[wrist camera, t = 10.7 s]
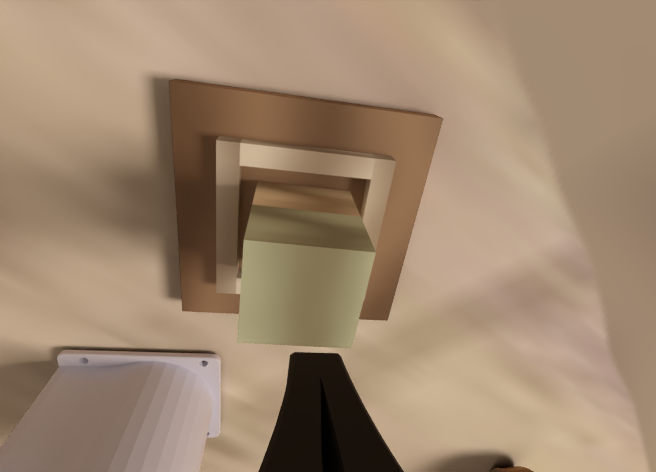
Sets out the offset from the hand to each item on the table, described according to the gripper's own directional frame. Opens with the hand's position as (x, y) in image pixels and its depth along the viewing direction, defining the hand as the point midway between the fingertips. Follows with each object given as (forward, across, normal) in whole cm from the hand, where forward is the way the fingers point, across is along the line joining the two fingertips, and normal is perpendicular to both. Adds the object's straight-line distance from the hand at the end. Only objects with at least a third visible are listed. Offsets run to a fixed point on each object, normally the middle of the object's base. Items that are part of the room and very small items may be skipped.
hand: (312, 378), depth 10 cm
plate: (+10, 0, 0) cm, 10 cm away
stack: (+9, 0, 0) cm, 9 cm away
